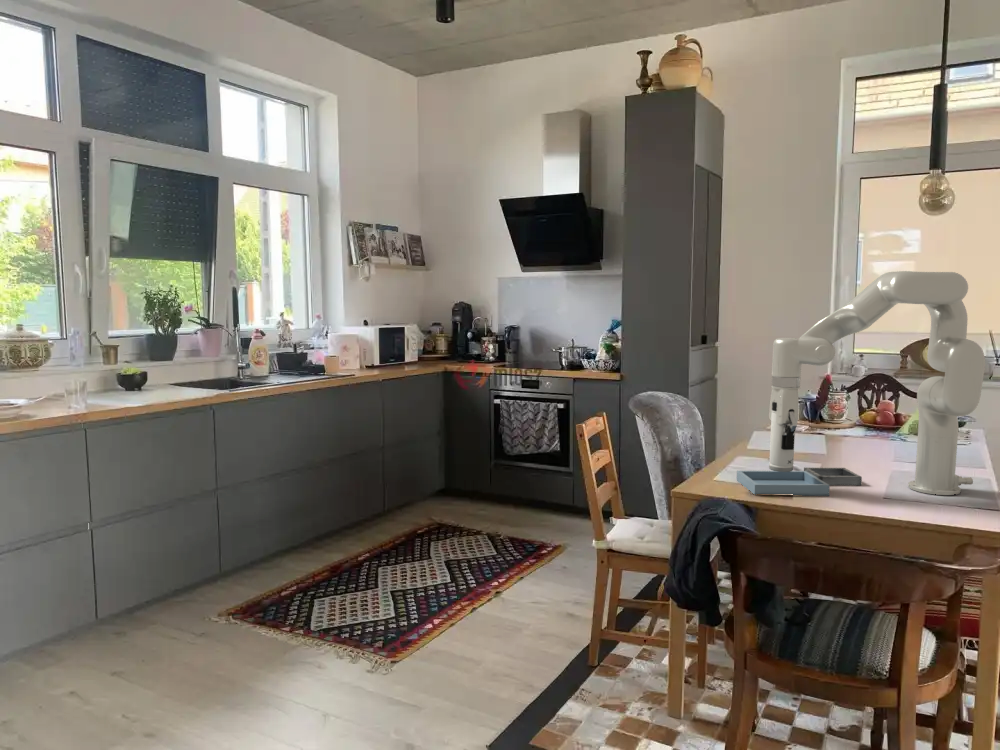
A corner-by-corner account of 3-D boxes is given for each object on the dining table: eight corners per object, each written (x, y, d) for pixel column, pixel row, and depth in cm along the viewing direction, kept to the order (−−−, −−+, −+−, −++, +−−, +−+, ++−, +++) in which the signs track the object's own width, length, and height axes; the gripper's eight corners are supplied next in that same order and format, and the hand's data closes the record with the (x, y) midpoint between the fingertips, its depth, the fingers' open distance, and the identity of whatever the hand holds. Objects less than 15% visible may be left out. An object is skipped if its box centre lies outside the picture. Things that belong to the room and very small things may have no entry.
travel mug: (796, 472, 204) (799, 400, 202) (770, 471, 206) (774, 399, 203) (792, 467, 210) (795, 397, 208) (767, 466, 212) (770, 396, 209)
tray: (805, 481, 216) (806, 471, 216) (829, 496, 200) (829, 485, 200) (736, 480, 217) (736, 470, 216) (754, 495, 201) (754, 484, 200)
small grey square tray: (843, 475, 223) (844, 467, 222) (861, 485, 212) (861, 476, 211) (803, 475, 223) (804, 467, 222) (818, 485, 212) (819, 476, 212)
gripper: (761, 379, 214) (758, 440, 216) (783, 386, 197) (780, 453, 199) (787, 379, 214) (784, 440, 216) (812, 386, 197) (808, 453, 199)
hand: (782, 446), depth 207 cm, fingers closed on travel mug, 6 cm apart
